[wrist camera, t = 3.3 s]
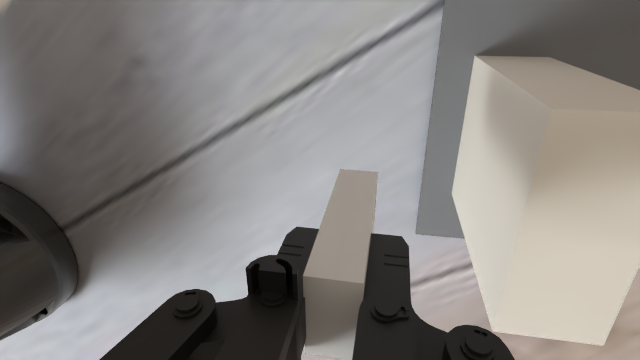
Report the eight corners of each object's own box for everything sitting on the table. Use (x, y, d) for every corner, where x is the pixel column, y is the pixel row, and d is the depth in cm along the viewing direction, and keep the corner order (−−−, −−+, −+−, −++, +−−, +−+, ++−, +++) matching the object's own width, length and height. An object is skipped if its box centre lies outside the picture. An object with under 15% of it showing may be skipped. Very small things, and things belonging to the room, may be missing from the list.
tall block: (451, 193, 26) (492, 331, 15) (474, 55, 22) (551, 109, 11) (514, 198, 25) (603, 345, 14) (549, 57, 21) (707, 114, 10)
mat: (415, 230, 28) (416, 233, 27) (446, -12, 21) (447, -12, 21) (764, 263, 24) (770, 266, 24) (939, -16, 17) (951, -17, 17)
